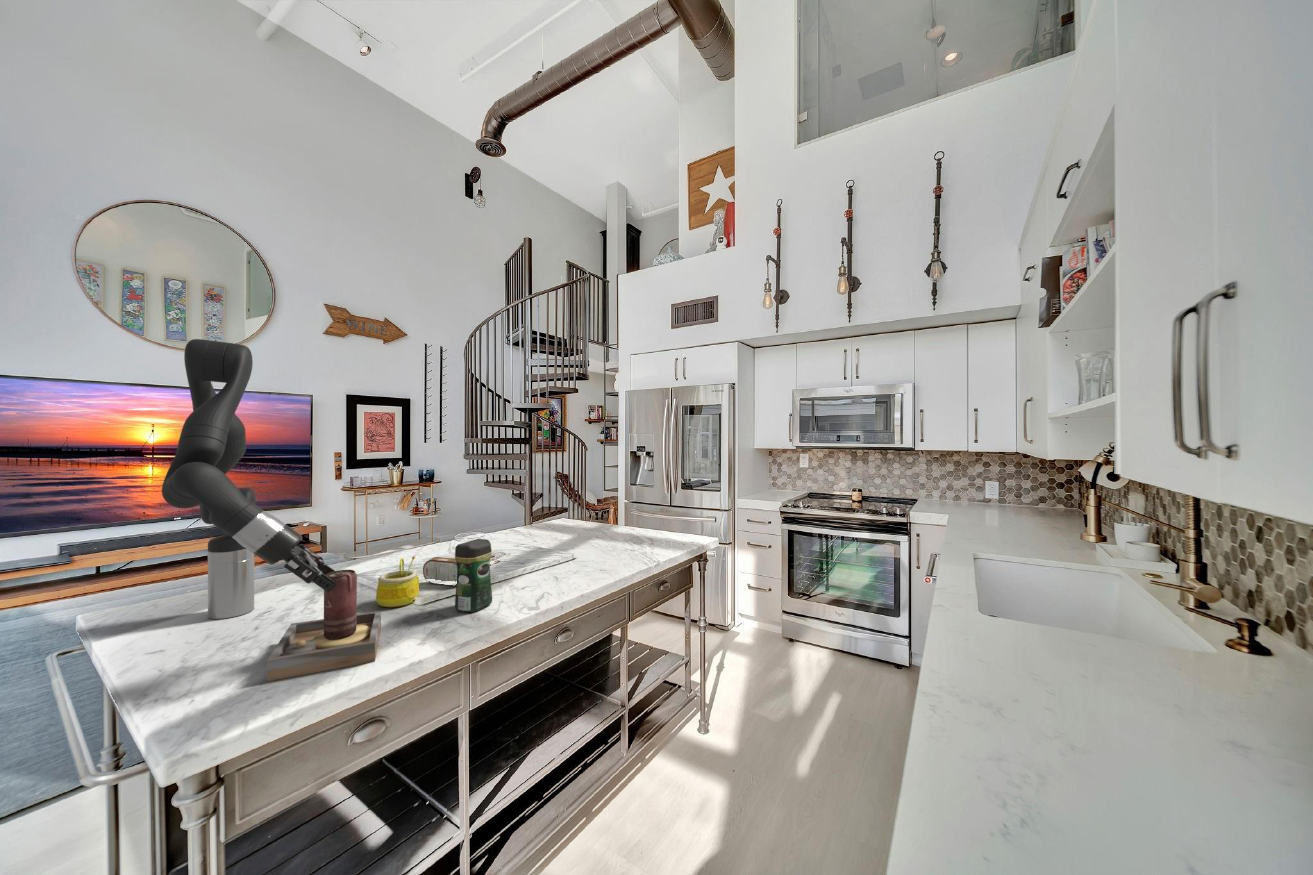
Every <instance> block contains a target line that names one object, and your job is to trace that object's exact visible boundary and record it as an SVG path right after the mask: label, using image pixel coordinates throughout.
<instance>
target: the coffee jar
mask: <svg viewBox="0 0 1313 875" xmlns="http://www.w3.org/2000/svg"><path fill="white" fill-rule="evenodd" d="M454 548H455V549H454V559H455V560H456V563H457V584H456V586H455V587H456V588H455V597H454V609H456V611H458V612H461V613H465V612H466V613H468V612H469V613H474V612H477V611H480V610H483V609H484V608H486V607H488V606H490V605H492V603H493V593H492V592H493V591H492V581H491V580H492V578H491V559H492V554H493V552H492V543H491V542H490V539H485V538H477V539H472V540H469V541H466V542H462V543H459V544H457V545H456V546H455V547H454Z"/></svg>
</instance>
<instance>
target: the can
mask: <svg viewBox="0 0 1313 875" xmlns="http://www.w3.org/2000/svg"><path fill="white" fill-rule="evenodd" d="M326 576H327V577H329V578H330V579H332V580H333V581H335V582H336V583H337V584H336V586H335V587H334V588H333V589H332V590H331V591H330V592H327V591H325V590H324V589H323V619H324V637H325V638H326V639H328V640H338V639H343V638H346V637H349V636H351V635H353V634H354V633H355V631H356V623H357V614H358V612H357V609H358V606H357V603H358V601H357V597H358V596H357V595H358V592H357V590H358V586H357V585H358V584H357V583H358V582H357V580H358V574H357V573H356V571H355V570H353V569H340V570H335V571H334V572H330V573H328V574H326Z"/></svg>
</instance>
